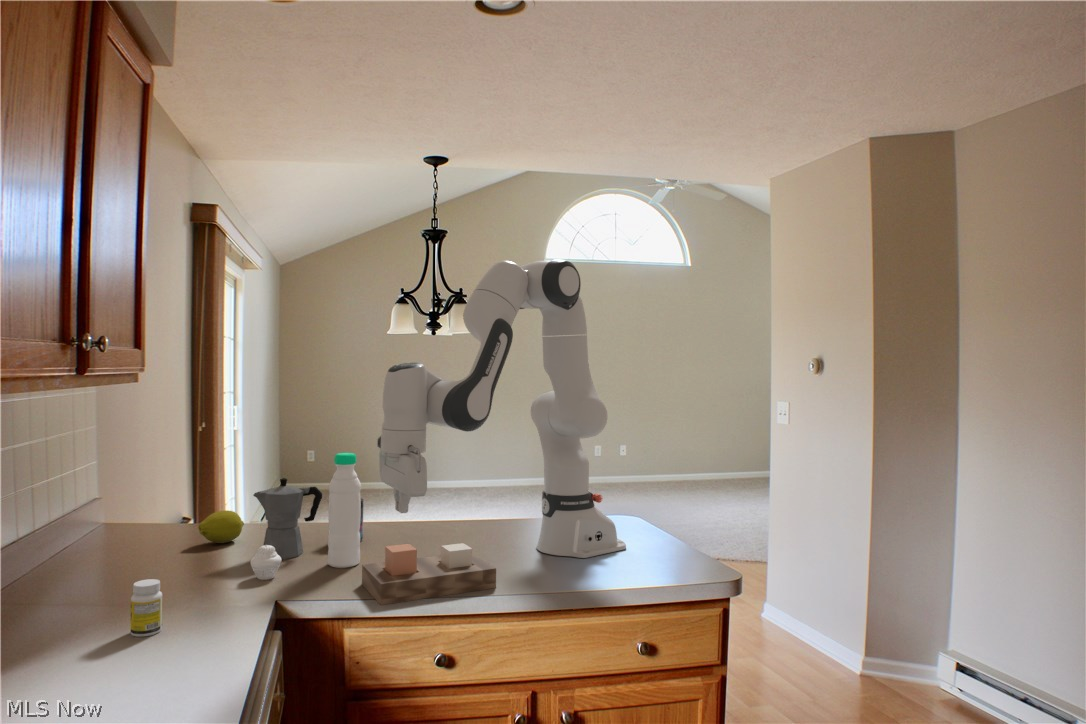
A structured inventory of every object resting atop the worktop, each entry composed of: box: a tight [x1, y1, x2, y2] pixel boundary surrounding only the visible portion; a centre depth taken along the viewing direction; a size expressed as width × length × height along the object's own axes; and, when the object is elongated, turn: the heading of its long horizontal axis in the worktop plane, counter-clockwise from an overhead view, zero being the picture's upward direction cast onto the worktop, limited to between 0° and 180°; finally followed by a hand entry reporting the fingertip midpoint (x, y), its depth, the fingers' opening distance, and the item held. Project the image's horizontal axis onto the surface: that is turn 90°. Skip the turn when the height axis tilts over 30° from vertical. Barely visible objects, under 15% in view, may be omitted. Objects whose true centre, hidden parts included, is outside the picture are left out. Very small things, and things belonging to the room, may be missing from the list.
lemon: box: [198, 510, 245, 544], centre depth 180 cm, size 11×8×8 cm
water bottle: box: [327, 452, 362, 569], centre depth 164 cm, size 7×7×25 cm
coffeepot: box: [252, 477, 323, 560], centre depth 171 cm, size 15×9×18 cm, turn 113°
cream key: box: [440, 542, 473, 569], centre depth 152 cm, size 5×5×5 cm
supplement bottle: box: [130, 578, 163, 638], centre depth 123 cm, size 5×5×8 cm
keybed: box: [361, 552, 497, 606], centre depth 149 cm, size 24×14×4 cm, turn 118°
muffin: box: [250, 545, 283, 581], centre depth 153 cm, size 6×6×7 cm
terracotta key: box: [384, 543, 418, 576], centre depth 147 cm, size 5×5×5 cm
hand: (401, 511), depth 146 cm, fingers closed
